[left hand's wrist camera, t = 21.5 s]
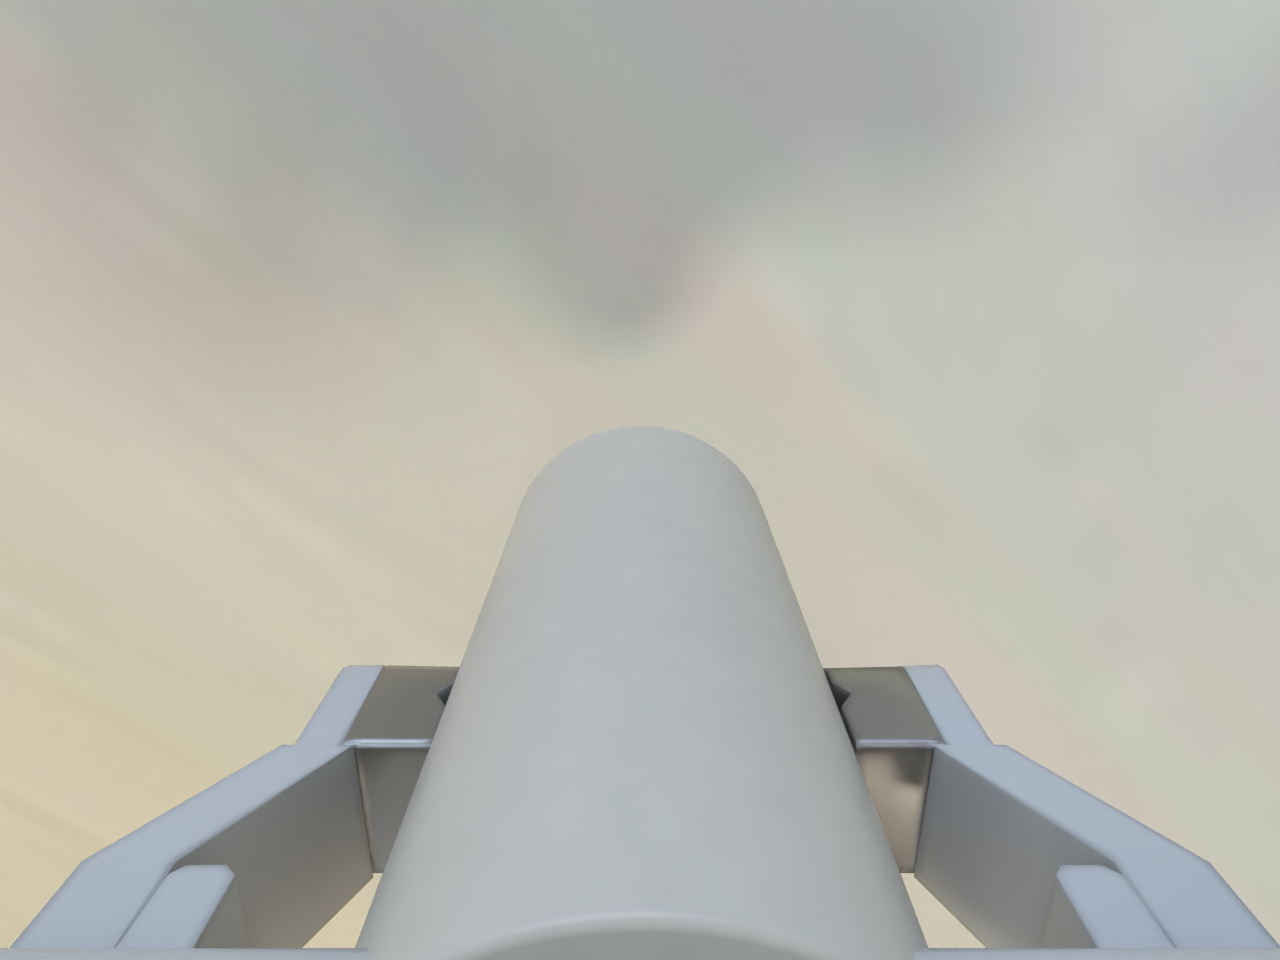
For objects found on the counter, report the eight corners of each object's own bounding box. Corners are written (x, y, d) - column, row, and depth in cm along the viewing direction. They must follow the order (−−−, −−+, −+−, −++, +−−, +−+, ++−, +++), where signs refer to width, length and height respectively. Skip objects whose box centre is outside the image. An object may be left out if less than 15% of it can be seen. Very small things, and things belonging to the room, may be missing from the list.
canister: (637, 695, 15) (633, 1430, 6) (462, 542, 14) (150, 1172, 5) (818, 548, 14) (1129, 1184, 5) (644, 369, 13) (653, 786, 4)
